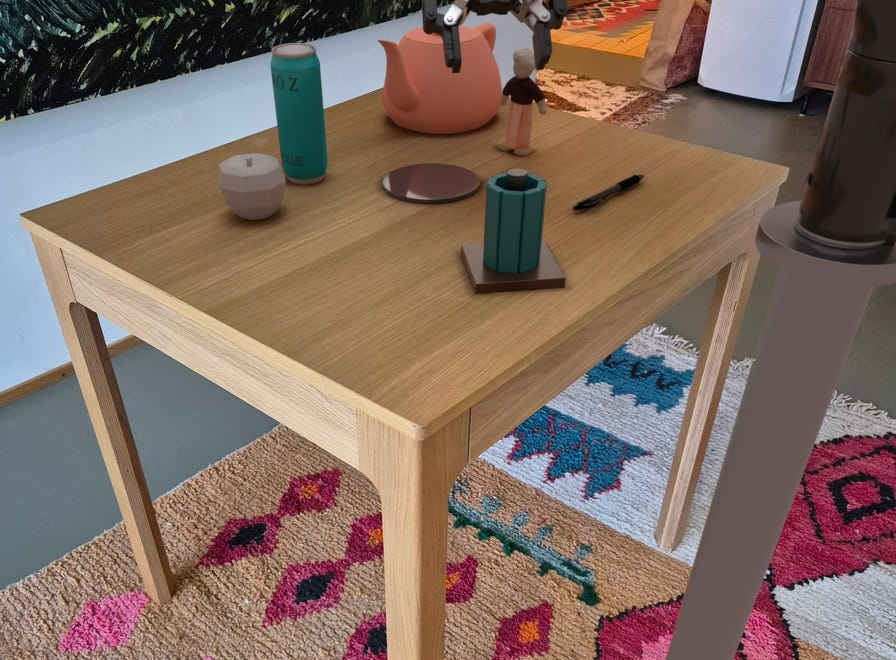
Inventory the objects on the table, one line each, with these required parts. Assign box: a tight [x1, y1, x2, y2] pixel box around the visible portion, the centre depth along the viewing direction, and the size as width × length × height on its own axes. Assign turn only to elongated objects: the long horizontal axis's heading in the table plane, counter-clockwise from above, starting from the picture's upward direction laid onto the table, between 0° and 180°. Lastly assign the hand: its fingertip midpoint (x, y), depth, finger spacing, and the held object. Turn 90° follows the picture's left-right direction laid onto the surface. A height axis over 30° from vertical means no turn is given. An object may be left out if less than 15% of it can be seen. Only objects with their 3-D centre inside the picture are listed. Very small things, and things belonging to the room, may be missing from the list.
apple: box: [217, 152, 287, 221], centre depth 95 cm, size 8×8×7 cm
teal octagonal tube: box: [483, 171, 548, 273], centre depth 82 cm, size 6×6×8 cm
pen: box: [572, 173, 645, 212], centre depth 99 cm, size 14×2×1 cm, turn 135°
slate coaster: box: [382, 162, 481, 204], centre depth 103 cm, size 12×12×1 cm
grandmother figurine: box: [498, 46, 548, 156], centre depth 108 cm, size 8×4×13 cm, turn 55°
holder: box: [460, 168, 567, 294], centre depth 82 cm, size 9×9×10 cm
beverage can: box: [269, 42, 329, 185], centre depth 101 cm, size 6×6×15 cm
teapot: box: [377, 22, 503, 135], centre depth 118 cm, size 25×17×13 cm
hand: (499, 67), depth 83 cm, fingers open, 8 cm apart
